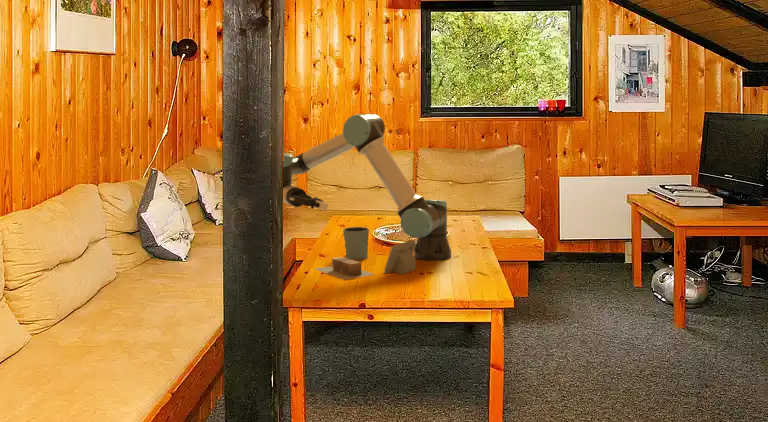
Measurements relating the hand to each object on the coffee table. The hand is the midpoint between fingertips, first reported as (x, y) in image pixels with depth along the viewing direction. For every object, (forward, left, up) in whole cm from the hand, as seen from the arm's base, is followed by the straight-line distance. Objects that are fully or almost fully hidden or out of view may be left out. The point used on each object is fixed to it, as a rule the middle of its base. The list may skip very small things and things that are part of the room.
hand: (325, 207), depth 308 cm
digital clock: (-29, -4, -23) cm, 38 cm away
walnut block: (-8, +6, -20) cm, 22 cm away
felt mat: (-12, +8, -23) cm, 27 cm away
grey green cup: (-4, -16, -23) cm, 28 cm away
